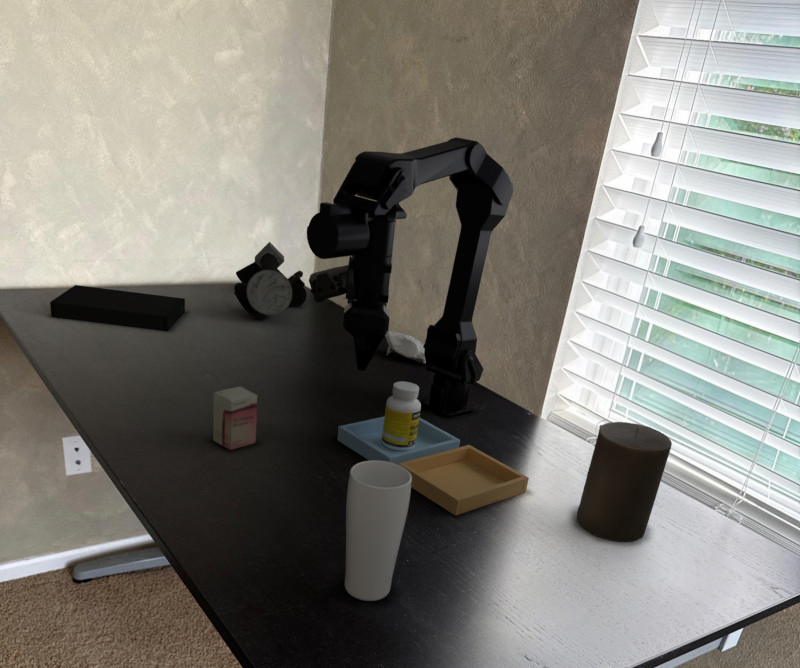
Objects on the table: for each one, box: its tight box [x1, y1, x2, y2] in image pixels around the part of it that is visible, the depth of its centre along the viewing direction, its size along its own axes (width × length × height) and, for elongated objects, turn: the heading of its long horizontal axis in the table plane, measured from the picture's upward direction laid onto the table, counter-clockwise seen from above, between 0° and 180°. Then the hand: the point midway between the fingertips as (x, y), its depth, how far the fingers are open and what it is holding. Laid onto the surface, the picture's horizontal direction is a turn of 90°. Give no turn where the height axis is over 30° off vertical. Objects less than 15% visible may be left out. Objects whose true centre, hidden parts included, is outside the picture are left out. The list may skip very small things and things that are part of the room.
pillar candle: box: [576, 421, 673, 542], centre depth 111 cm, size 10×10×15 cm
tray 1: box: [337, 415, 461, 465], centre depth 128 cm, size 15×13×2 cm
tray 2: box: [398, 444, 530, 516], centre depth 119 cm, size 15×13×2 cm
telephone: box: [233, 241, 308, 320], centre depth 184 cm, size 15×13×30 cm
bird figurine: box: [384, 329, 426, 365], centre depth 165 cm, size 5×7×10 cm
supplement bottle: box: [382, 381, 422, 451], centre depth 126 cm, size 5×5×10 cm
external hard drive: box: [49, 284, 186, 332], centre depth 168 cm, size 14×23×3 cm, turn 89°
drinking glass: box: [343, 460, 412, 602], centre depth 90 cm, size 7×7×15 cm
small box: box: [212, 386, 258, 451], centre depth 121 cm, size 5×4×8 cm
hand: (362, 359), depth 122 cm, fingers open, 9 cm apart
